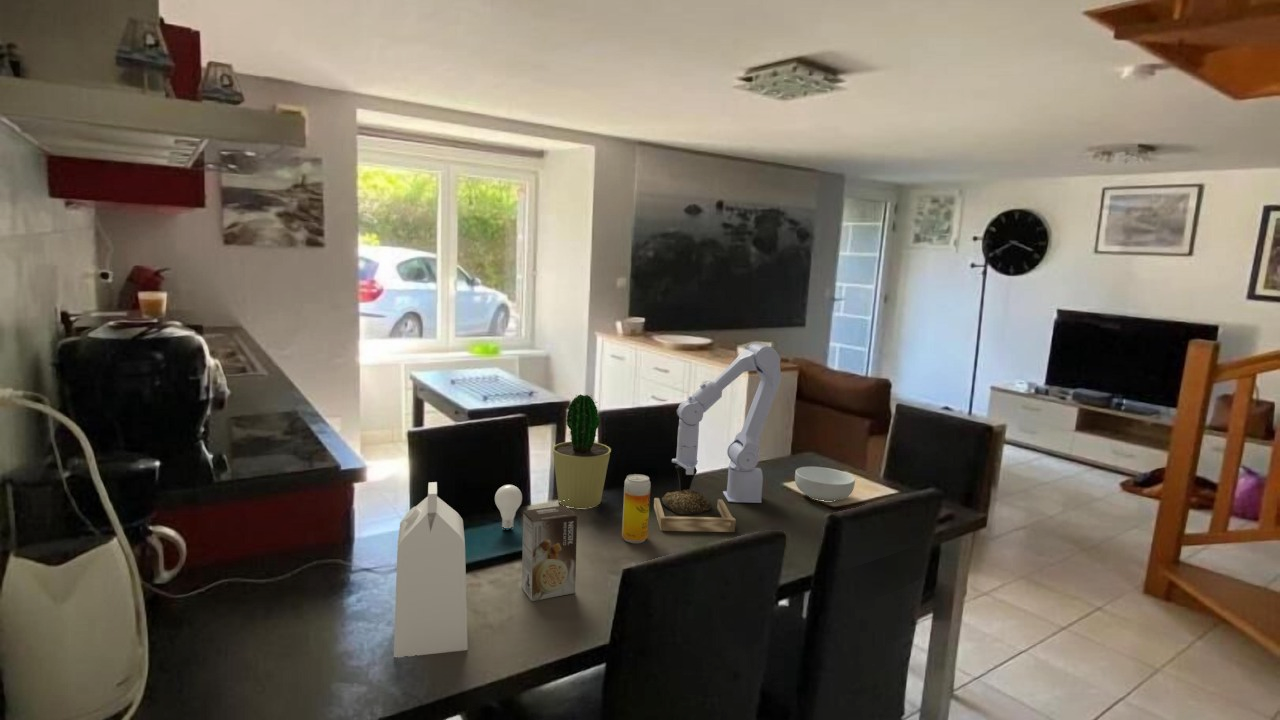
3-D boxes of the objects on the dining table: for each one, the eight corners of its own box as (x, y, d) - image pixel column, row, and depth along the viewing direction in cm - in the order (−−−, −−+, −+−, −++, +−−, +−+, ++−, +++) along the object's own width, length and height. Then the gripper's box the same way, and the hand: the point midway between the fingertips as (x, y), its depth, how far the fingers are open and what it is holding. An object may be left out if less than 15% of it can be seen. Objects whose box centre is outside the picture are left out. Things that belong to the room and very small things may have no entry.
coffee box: (563, 579, 140) (566, 504, 138) (575, 593, 134) (579, 515, 132) (520, 587, 136) (522, 509, 133) (530, 602, 130) (533, 521, 128)
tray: (721, 508, 186) (722, 497, 185) (734, 532, 170) (735, 519, 169) (653, 506, 184) (654, 495, 184) (660, 530, 168) (661, 518, 168)
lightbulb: (488, 531, 162) (489, 486, 160) (503, 522, 168) (504, 479, 166) (511, 537, 159) (513, 491, 158) (526, 527, 165) (527, 483, 164)
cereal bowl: (860, 510, 190) (862, 485, 189) (800, 506, 190) (802, 482, 189) (843, 490, 207) (845, 467, 206) (788, 486, 207) (790, 464, 206)
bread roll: (674, 517, 178) (675, 498, 177) (656, 500, 190) (657, 483, 189) (718, 513, 183) (719, 495, 182) (698, 497, 194) (699, 480, 193)
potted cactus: (619, 500, 187) (624, 392, 183) (586, 517, 174) (591, 401, 170) (573, 488, 195) (578, 384, 191) (538, 503, 182) (542, 392, 178)
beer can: (647, 544, 159) (650, 482, 157) (621, 543, 159) (624, 481, 157) (647, 534, 165) (651, 474, 163) (622, 533, 165) (625, 472, 163)
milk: (467, 649, 113) (470, 498, 110) (393, 658, 110) (393, 502, 106) (464, 613, 125) (466, 475, 121) (397, 619, 121) (397, 477, 118)
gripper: (670, 437, 196) (667, 483, 198) (676, 451, 182) (673, 500, 184) (694, 438, 197) (691, 483, 199) (702, 452, 183) (699, 501, 185)
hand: (684, 491), depth 192 cm, fingers closed
